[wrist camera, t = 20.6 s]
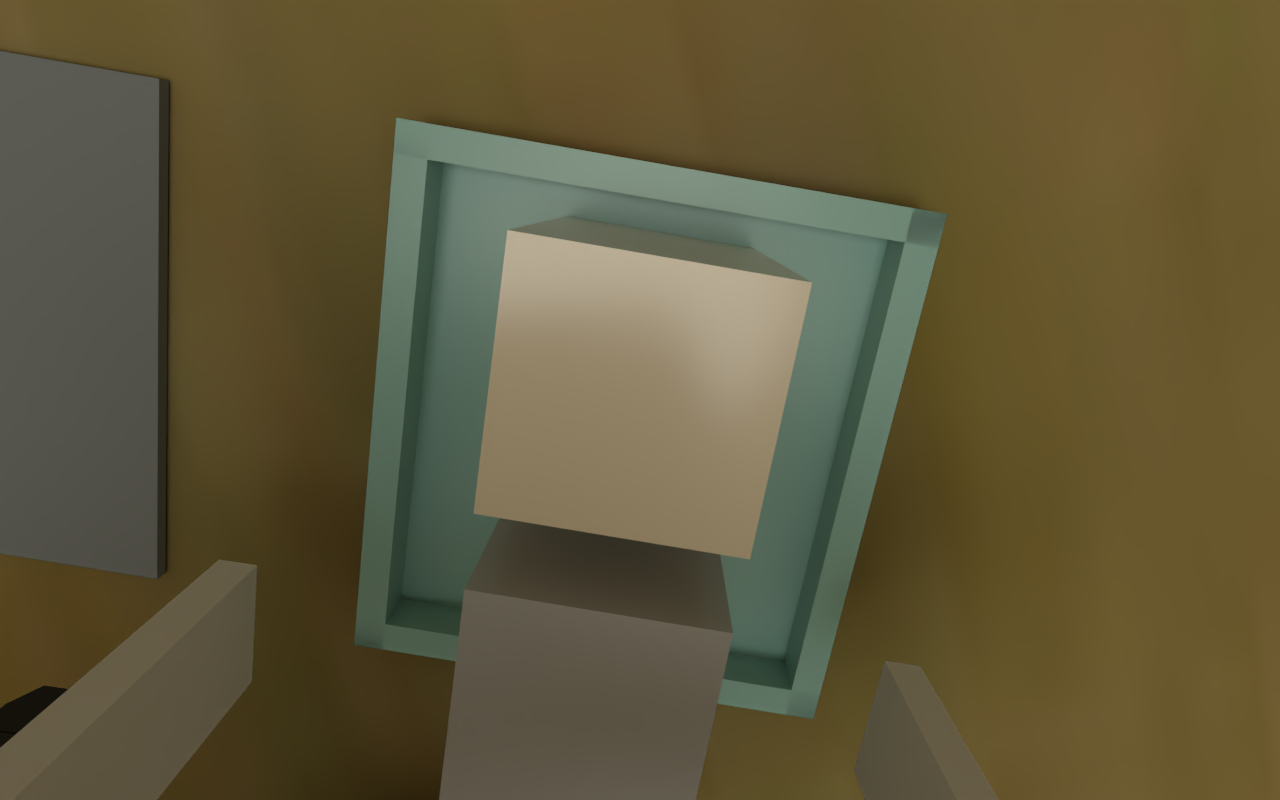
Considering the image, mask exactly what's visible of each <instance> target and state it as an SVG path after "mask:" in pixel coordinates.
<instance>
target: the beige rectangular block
mask: <svg viewBox="0 0 1280 800" xmlns="http://www.w3.org/2000/svg"><path fill="white" fill-rule="evenodd" d="M811 286H812V282H811V281H809V280H807V279H805V278H804V277H802V276H800V275H799V274H797V273H795V272H793V271H792V270H790V269H788V268H786V267H785V266H783V265H781V264H780V263H778V262H776V261H774V260H773V259H771V258H769V257H768V256H766V255H764V254H762V253H761V252H759V251H757V250H756V249H754V248H751V247H745V246H739V245H733V244H727V243H722V242H716V241H710V240H704V239H699V238H693V237H687V236H681V235H675V234H670V233H664V232H658V231H652V230H647V229H641V228H635V227H629V226H623V225H618V224H612V223H606V222H600V221H595V220H589V219H583V218H577V217H571V216H565V217H560V218H556V219H552V220H548V221H543V222H539V223H535V224H531V225H526V226H522V227H518V228H514V229H509V230H507V238H506V246H505V255H504V263H503V271H502V280H501V288H500V296H499V305H498V313H497V321H496V330H495V338H494V346H493V355H492V363H491V371H490V380H489V388H488V396H487V405H486V413H485V421H484V430H483V438H482V446H481V455H480V463H479V471H478V480H477V488H476V496H475V505H474V513H473V514H479V515H485V516H491V517H497V518H503V519H509V520H515V521H521V522H527V523H533V524H539V525H545V526H551V527H557V528H563V529H569V530H575V531H581V532H587V533H593V534H599V535H605V536H611V537H618V538H624V539H630V540H636V541H642V542H648V543H654V544H660V545H666V546H672V547H678V548H684V549H690V550H696V551H702V552H708V553H714V554H720V555H726V556H732V557H738V558H744V559H750V557H751V552H752V548H753V544H754V539H755V535H756V530H757V526H758V521H759V517H760V512H761V508H762V504H763V499H764V495H765V490H766V486H767V481H768V477H769V473H770V468H771V464H772V459H773V455H774V450H775V446H776V442H777V437H778V433H779V428H780V424H781V419H782V415H783V410H784V406H785V402H786V397H787V393H788V388H789V384H790V379H791V375H792V371H793V366H794V362H795V357H796V353H797V348H798V344H799V339H800V335H801V331H802V326H803V322H804V317H805V313H806V308H807V304H808V300H809V295H810V291H811Z"/></svg>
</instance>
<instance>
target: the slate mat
mask: <svg viewBox="0 0 1280 800" xmlns="http://www.w3.org/2000/svg"><path fill="white" fill-rule="evenodd" d="M168 149H169V81H167V80H163V79H158V78H152V77H146V76H141V75H135V74H129V73H124V72H118V71H112V70H106V69H101V68H95V67H89V66H83V65H78V64H72V63H66V62H61V61H55V60H49V59H43V58H38V57H32V56H26V55H21V54H15V53H9V52H3V51H0V554H6V555H12V556H18V557H24V558H30V559H36V560H42V561H49V562H55V563H61V564H67V565H73V566H79V567H86V568H92V569H98V570H104V571H110V572H116V573H122V574H129V575H135V576H141V577H147V578H153V579H158V578H159V577H161V576H162V575H163V574H164V573H165V567H166V427H167V288H168Z"/></svg>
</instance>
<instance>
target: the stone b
mask: <svg viewBox="0 0 1280 800" xmlns="http://www.w3.org/2000/svg"><path fill="white" fill-rule="evenodd" d="M732 637H733V629H732V623H731V617H730V611H729V605H728V599H727V593H726V587H725V581H724V575H723V569H722V563H721V557H720V554H714V553H708V552H702V551H696V550H690V549H684V548H678V547H672V546H666V545H660V544H654V543H648V542H642V541H636V540H630V539H624V538H618V537H611V536H605V535H599V534H593V533H587V532H581V531H575V530H569V529H563V528H557V527H551V526H545V525H539V524H533V523H527V522H521V521H515V520H509V519H503V518H499V520H498V522H497V524H496V526H495V529H494V531H493V533H492V535H491V537H490V539H489V541H488V543H487V545H486V547H485V549H484V551H483V553H482V555H481V557H480V559H479V561H478V563H477V565H476V567H475V569H474V571H473V573H472V575H471V577H470V579H469V581H468V583H467V585H466V587H465V589H464V596H463V604H462V612H461V621H460V629H459V637H458V646H457V654H456V662H455V671H454V679H453V687H452V696H451V704H450V712H449V721H448V729H447V737H446V746H445V754H444V762H443V771H442V779H441V787H440V796H439V800H696V796H697V792H698V787H699V783H700V778H701V774H702V770H703V765H704V761H705V756H706V752H707V747H708V743H709V739H710V734H711V730H712V725H713V721H714V716H715V712H716V707H717V703H718V699H719V694H720V690H721V685H722V681H723V676H724V672H725V668H726V663H727V659H728V654H729V650H730V645H731V641H732Z"/></svg>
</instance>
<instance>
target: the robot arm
mask: <svg viewBox="0 0 1280 800" xmlns="http://www.w3.org/2000/svg"><path fill="white" fill-rule="evenodd" d="M256 579H257V565H253V564H246V563H239V562H233V561H226V560H220V559H219V560H218V561H217V562H216V563H214V564H213V565H212V566H211V567H210V568H209V569H207V570H206V571H205V572H204V573H203V574H202V575H201V576H199V577H198V578H197V579H196V580H195V581H194V582H192V583H191V584H190V585H189V586H188V587H187V588H185V589H184V590H183V591H182V592H181V593H180V594H178V595H177V596H176V597H175V598H174V599H173V600H171V601H170V602H169V603H168V604H167V605H166V606H164V607H163V608H162V609H161V610H160V611H159V612H158V613H156V614H155V615H154V616H153V617H152V618H151V619H149V620H148V621H147V622H146V623H145V624H144V625H142V626H141V627H140V628H139V629H138V630H137V631H135V632H134V633H133V634H132V635H131V636H130V637H128V638H127V639H126V640H125V641H124V642H123V643H121V644H120V645H119V646H118V647H117V648H116V649H115V650H113V651H112V652H111V653H110V654H109V655H108V656H106V657H105V658H104V659H103V660H102V661H101V662H99V663H98V664H97V665H96V666H95V667H94V668H92V669H91V670H90V671H89V672H88V673H87V674H85V675H84V676H83V677H82V678H81V679H80V680H78V681H77V682H76V683H75V684H74V685H73V686H71V687H70V688H69V689H64V688H57V687H50V686H42V687H40V688H38V689H36V690H34V691H32V692H30V693H28V694H26V695H24V696H21V697H19V698H17V699H15V700H13V701H11V702H9V703H7V704H5V705H4V706H3V707H2V708H0V800H157V799H158V798H159V797H160V795H161V794H162V793H163V792H164V791H165V789H166V788H167V787H168V786H169V784H170V783H171V782H172V781H173V779H174V778H175V777H176V776H177V774H178V773H179V772H180V771H181V769H182V768H183V767H184V766H185V764H186V763H187V762H188V761H189V759H190V758H191V757H192V756H193V754H194V753H195V752H196V751H197V749H198V748H199V747H200V746H201V744H202V743H203V742H204V741H205V739H206V738H207V737H208V736H209V735H210V733H211V732H212V731H213V730H214V728H215V727H216V726H217V725H218V723H219V722H220V721H221V720H222V718H223V717H224V716H225V715H226V713H227V712H228V711H229V710H230V708H231V707H232V706H233V705H234V703H235V702H236V701H237V700H238V698H239V697H240V696H241V695H242V693H243V692H244V691H245V690H246V688H247V687H248V686H249V685H250V683H251V682H252V671H253V648H254V625H255V602H256ZM854 771H855V774H856V777H857V780H858V782H859V785H860V788H861V791H862V793H863V796H864V799H865V800H999V799H998V798H997V796H996V794H995V793H994V791H993V789H992V787H991V786H990V784H989V782H988V781H987V779H986V777H985V776H984V774H983V772H982V770H981V769H980V767H979V765H978V764H977V762H976V760H975V759H974V757H973V755H972V753H971V752H970V750H969V748H968V747H967V745H966V743H965V741H964V740H963V738H962V736H961V735H960V733H959V731H958V730H957V728H956V726H955V724H954V723H953V721H952V719H951V718H950V716H949V714H948V712H947V711H946V709H945V707H944V706H943V704H942V702H941V701H940V699H939V697H938V695H937V694H936V692H935V690H934V689H933V687H932V685H931V684H930V682H929V680H928V678H927V677H926V675H925V673H924V672H923V670H922V668H921V666H916V665H909V664H903V663H896V662H890V661H885V662H884V666H883V669H882V673H881V676H880V680H879V683H878V687H877V690H876V694H875V697H874V701H873V704H872V708H871V711H870V715H869V718H868V722H867V725H866V729H865V732H864V736H863V739H862V743H861V746H860V750H859V753H858V757H857V760H856V764H855V768H854Z"/></svg>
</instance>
